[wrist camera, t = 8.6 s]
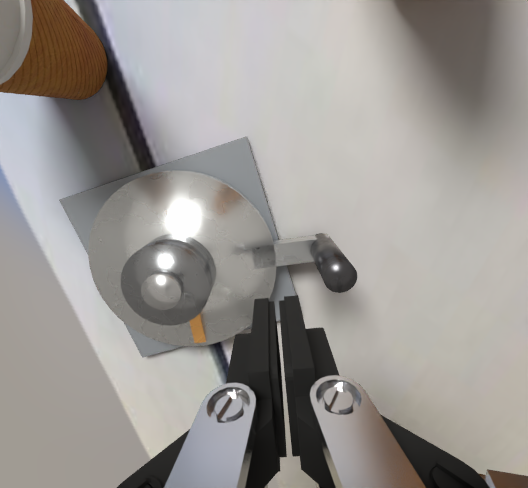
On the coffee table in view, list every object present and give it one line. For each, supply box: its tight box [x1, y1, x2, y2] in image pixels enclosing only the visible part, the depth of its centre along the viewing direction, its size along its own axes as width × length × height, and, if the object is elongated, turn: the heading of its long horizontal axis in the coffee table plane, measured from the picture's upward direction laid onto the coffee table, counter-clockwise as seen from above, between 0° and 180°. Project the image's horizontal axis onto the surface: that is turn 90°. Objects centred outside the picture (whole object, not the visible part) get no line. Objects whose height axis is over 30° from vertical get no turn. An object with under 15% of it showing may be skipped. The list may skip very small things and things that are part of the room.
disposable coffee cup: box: [0, 0, 107, 100], centre depth 18 cm, size 10×10×12 cm
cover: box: [121, 234, 216, 326], centre depth 25 cm, size 8×8×4 cm
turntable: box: [88, 170, 357, 346], centre depth 24 cm, size 24×18×8 cm
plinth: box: [59, 137, 296, 357], centre depth 29 cm, size 19×19×1 cm
